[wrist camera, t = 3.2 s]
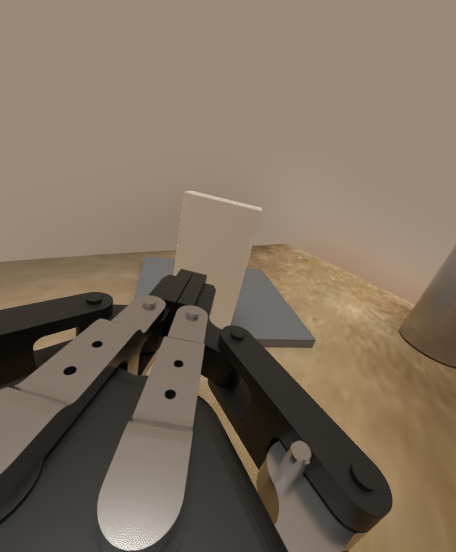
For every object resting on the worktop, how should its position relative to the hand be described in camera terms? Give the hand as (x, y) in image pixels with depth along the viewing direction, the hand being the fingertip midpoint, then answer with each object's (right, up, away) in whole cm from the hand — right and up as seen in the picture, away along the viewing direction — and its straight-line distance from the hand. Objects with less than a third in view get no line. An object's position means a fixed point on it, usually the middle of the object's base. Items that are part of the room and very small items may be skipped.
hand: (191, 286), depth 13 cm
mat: (0, -3, +22) cm, 22 cm away
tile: (-1, -5, +14) cm, 15 cm away
